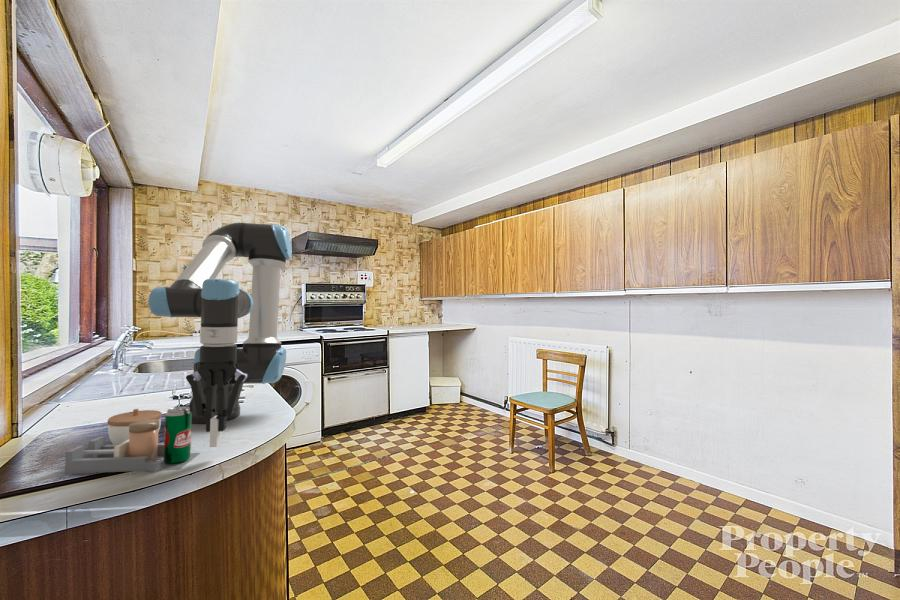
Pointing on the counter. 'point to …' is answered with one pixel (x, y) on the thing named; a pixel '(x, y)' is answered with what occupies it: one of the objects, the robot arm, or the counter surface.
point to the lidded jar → (120, 423)
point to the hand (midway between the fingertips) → (215, 444)
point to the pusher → (112, 450)
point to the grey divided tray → (115, 460)
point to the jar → (144, 439)
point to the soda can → (177, 435)
